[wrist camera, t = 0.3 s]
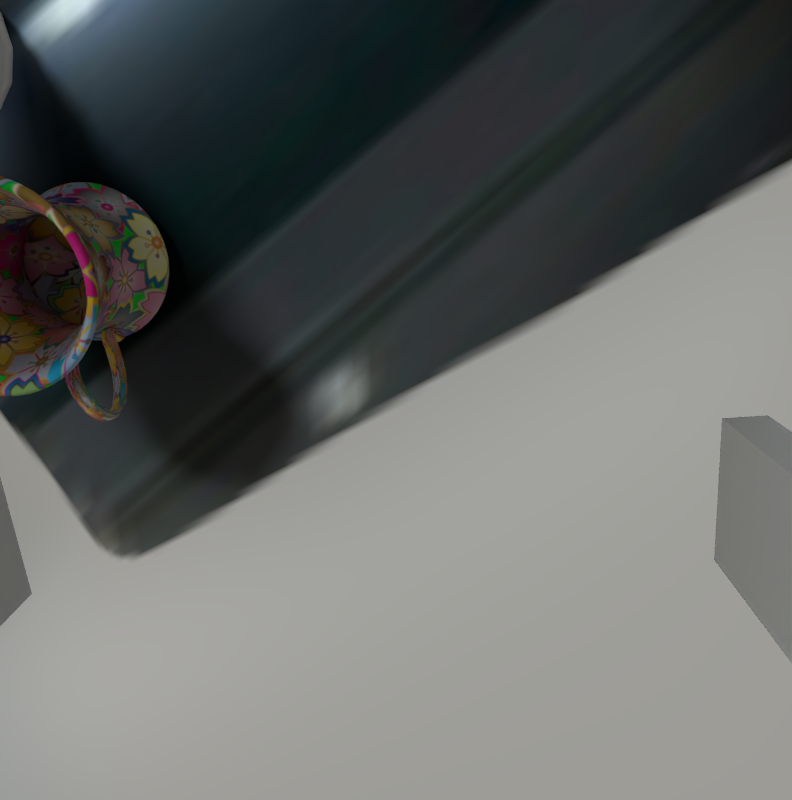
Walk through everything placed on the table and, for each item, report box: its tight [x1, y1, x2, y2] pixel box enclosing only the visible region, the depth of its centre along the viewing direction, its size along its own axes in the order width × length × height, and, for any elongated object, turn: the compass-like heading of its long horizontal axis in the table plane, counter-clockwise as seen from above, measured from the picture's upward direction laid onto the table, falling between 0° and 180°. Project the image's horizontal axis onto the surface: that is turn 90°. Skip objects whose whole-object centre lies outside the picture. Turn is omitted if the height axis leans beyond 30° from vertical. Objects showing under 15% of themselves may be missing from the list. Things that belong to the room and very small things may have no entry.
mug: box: [0, 176, 169, 421], centre depth 34 cm, size 12×9×11 cm
